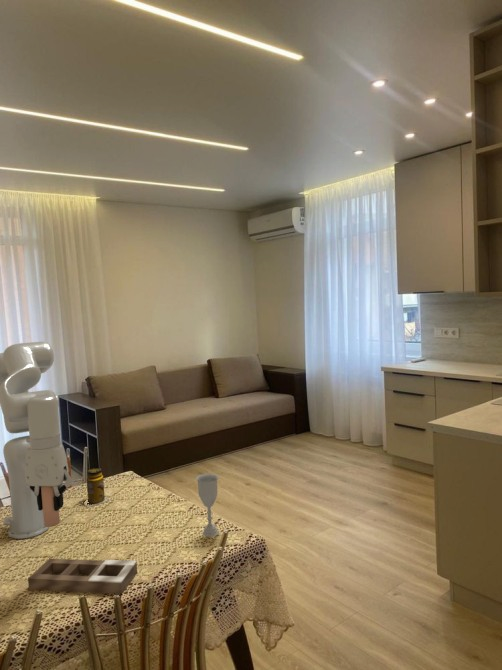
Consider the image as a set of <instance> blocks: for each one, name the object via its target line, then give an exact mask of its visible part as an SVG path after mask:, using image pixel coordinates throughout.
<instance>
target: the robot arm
mask: <svg viewBox="0 0 502 670" xmlns="http://www.w3.org/2000/svg"><path fill="white" fill-rule="evenodd" d="M54 361H55V353H54V350H53V348H52V346H51V345H50V344H49V343H48V342H46V341H33V342H22V343H21V342H20V343H14V344H11V345H9V346H7V347H6V348H5V349H4V351H3V352H0V409H1V412H2V415H3V421H4V426H5V429H6V431H7V433H9V434H22V433H27V432H29V433H28V435H23V436H18V437H15V438H12V439H10V440H8V441H6V443H5V444H4V445H3V449H2V451H3V453H2V454H3V457H4V461H5V465H6V469H7V474H8V483H9V495H10V505H11V506H10V507H11V516H5V517H4V520H3V524H2V525H3V526H9V529H8V532H7V533H8V537H10V538H11V539H16V540H21V539H29V538H33V537H35V536H39V535H42V534H43V533H45V532H46V531H47V530H49V528H50V527H45V526H44V519H43V506H42V494H41V486H46V487H53V488H54V492H55V496H54V497H53V499H54V510H55V511H58V510H59V511H60V509H62V508H63V507H64V492H65V491H66V490H67V489H68V488H69V487H71V486H72V485H73V484H75V482H74V480H73V478H72V476H71V475H70V474H69V464H68V458H67V454H66V451H65V450H66V449H65V448H64V444H62V443H61V442H62V441H61V440H62V439H61V428H60V425H61V424H60V415H59V414H60V413H59V407H60V405H59V403H60V402H59V397H58V395H57V394H56V393H55V391H53V390H50V389H45V390H36V391H29V390H30V389H32V388H34V387H36V386H37V384H38V383H39V382H40V380H41V376H42V374H43V373H44V374H45V373H46V372H47V371H49V369H50V368H51V367H52V366H53V364H54ZM64 482H65V483H64Z"/></svg>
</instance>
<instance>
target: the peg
mask: <svg viewBox="0 0 502 670" xmlns="http://www.w3.org/2000/svg"><path fill="white" fill-rule="evenodd" d="M41 494H42V506H43V519H44V526H45V527H49V528H51V527H52V528H53V527H55V526H58V525H59V524H60V522H61V520H60V519H61V517H60V509H59V510H58V511H55V510H54V499H53V497H54V496H55V492H54V488H53V487H46V486H41Z"/></svg>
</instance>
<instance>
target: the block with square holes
mask: <svg viewBox="0 0 502 670" xmlns="http://www.w3.org/2000/svg"><path fill="white" fill-rule="evenodd" d="M137 574H138V563H137V560H121V559H105V560H101V559H100V560H99V559H97V560H93V559H73V558H72V559H71V558H69V559H68V558H48V559H47V560H46V561H45V562H44V563H43V564H42V565H41V566H40V567H39V568H38V569H36V570H35V572H34V573H32V574H31V575H30V576H29V577H28V578H27V583H28V590H32V591H33V590H34V591H35V590H36V591H52V592H72V593H89V592H90V593H91V594H92V593H94V594H109V595H110V594H111V593H115V594H114V595H119V594H118V593H121V594H120V595H123V594H122V593H124V592H125V591H126V589H127V588H128V587H129V585H130V583H131V582H132V581H133V580H134V578H135V576H136V575H137ZM87 575H88V576H87ZM111 595H112V594H111Z"/></svg>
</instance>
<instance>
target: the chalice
mask: <svg viewBox="0 0 502 670" xmlns="http://www.w3.org/2000/svg"><path fill="white" fill-rule="evenodd" d="M195 479H196V482H197V488H198V489H197V491H198V495H199V496H198V497H199V498H200V501H201V502H202V504H203V506H204V507H206V508H207V511H206V514H207V517H206V520H207V522H208V523H207V524H206V525H205V527H204V529H203V531H202V536H203V537H206V538H212V537H215V536H217V535H218V534H219V530H218V528H217V526H216V525H215V524H213V523H212V519H213V517H212V513H213V512H212V511H211V510H212V509H211V507H214V504H215V502H216V499H217V497H218V493H219V492H218V480H219V476H218V475H217V474H215V473H204V474H199V475H197V476H196V477H195Z"/></svg>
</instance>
